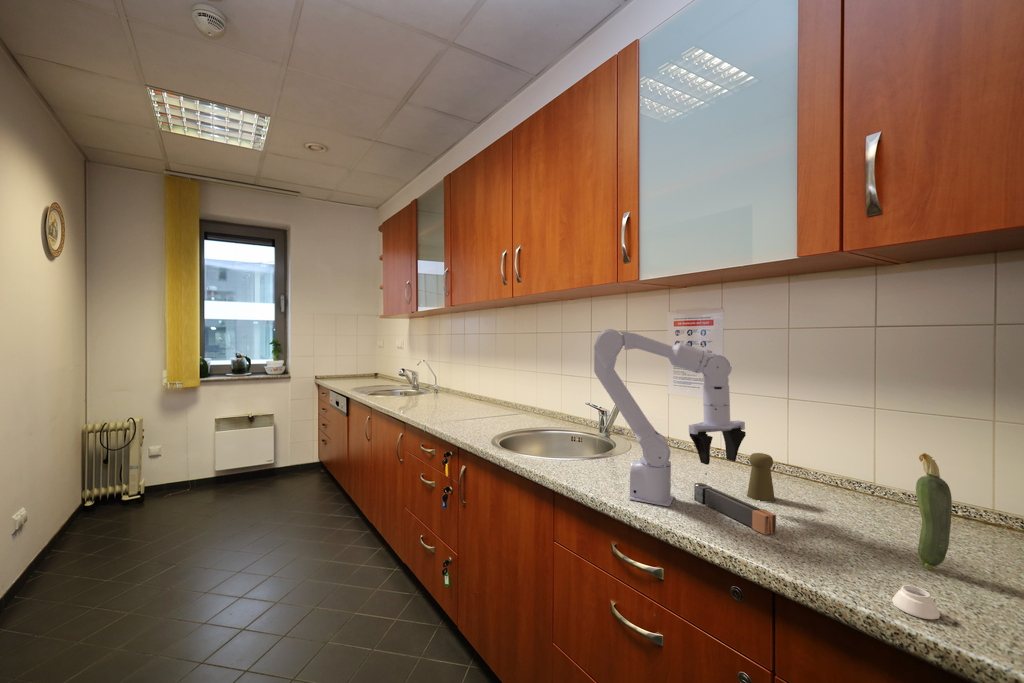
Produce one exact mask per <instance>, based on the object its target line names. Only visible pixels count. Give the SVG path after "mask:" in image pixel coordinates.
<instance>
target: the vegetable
mask: <svg viewBox="0 0 1024 683" xmlns="http://www.w3.org/2000/svg"><path fill="white" fill-rule="evenodd" d="M918 459H919V461H920V462H922V466H923V471H924V473H925V475H923V476H920V477H919V478H918V479H917V481H916V484H915V493H916V500H917V504H918V508H919V512H920V515H921V529H920V535H919V540H918V541H919V542H918V548H917V555H918V560H919V562H920V563H921V564H922V565H923V566H924V567H925V568H926V569H928V570H932V569H934V568H935V567H937V566H940V565H941V564H942V563H943V562H944V561H945V558H946V555H947V554H948V550H949V546H950V536H951V535H950V534H951V526H952V512H953V510H952V509H953V508H952V507H953V505H952V504H953V502H952V500H953V499H952V492H951V489H950V486H949V485H948V483H947V481H945V480H944V479H943V478H941V475H940V469H939V466H938V464H937V462H936V460H935V459H933V456H931V455H930V454H928V453H926V452H924V453H921V454H919V456H918Z"/></svg>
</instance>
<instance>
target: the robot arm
mask: <svg viewBox="0 0 1024 683" xmlns="http://www.w3.org/2000/svg"><path fill="white" fill-rule="evenodd" d="M623 346H624V351H627V350H633V349H634V350H635V349H637V350H641V351H645V352H647V353H651V354H655V355H658V356H661V357H664V358H667V359H668V360H669V362H670V364H671V366H674V367H677V368H680V369H683V370H686V371H690V372H692V373H695V374H700V373H701V374H702V376H703V380H702V381H703V383H702V401H703V402H702V403H703V406H702V407H703V422H697V423H693V424H692V423H691V424H688V433H689V434H688V435H689V437H690V439H691V440H692V442H693V444H694V446H695V448H696V451H697V453H698V457H699V461H700V463H701V464H703V465H707V466H708V465H710V460H711V459H710V457H711V456H710V455H711V445H712V441H713V436H712V435H709V434H708V433H717V432H721V433H722V435H723V440H724V445H725V456H726V457H725V458H726V460H727V461H731V462H736V461H737V456H738V452H739V450H740V446H741V444H742V443H743V440H744V438H745V437H746V431H744V430H746V422H745V421H744V420H731V405H730V404H731V403H730V402H731V401H730V400H731V398H730V384H729V382H730V381H729V376H730V374H731V373H732V369H733V368H732V366H731V363H730V361H729V359H727V357H725V356H723V355H720V354H716V353H712V351H711V350H710V349H705V350H703V349H701V348H697V347H694V346H691V343H689V342H684V343H682V342H679V343H676V344H675V345H669V344H667V343H664V342H660V341H658V340H655V339H652V338H649V337H647V336H644V335H641V334H637V333H634V332H629V331H623V330H622V331H621V330H619V331H618V330H616V329H613V328H606V329H604V330H602V331H601V332H599V334H598V335H597V337H596V339H595V343H594V344H593V354H594V355H593V356H594V357H593V370H594V371H593V372H594V374H595V375H596V377H597V379H598V380H599V381H600V383H601V385H602V386H603V388H604V389H605V391H606V392H607V394H608V395H609V397H610V399H611V400H612V402H613V403H614V405H615V406H616V407H617V409H618V411H619V412H620V414H621V415H622V417H623V418H624V420H625V421H626V423H627V425H628V426H629V428H630V429H631V430H632V432H633V434H634V435H635V438H636V440H637V442H638V443H639V444H638V445H640V447H641V448H642V457H640V460H636V459H635V460H632V462H631V464H630V469H629V496H628V499H629V500H630V501H636V502H641V503H648V504H653V505H657V506H662V507H663V506H664V507H670V506H671V504H672V503H673V500H674V498H675V495H674V494H672V493H671V492H672V491H671V487H672V486H671V483H672V478H671V477H672V463H671V461H670V459H671V454H672V453H671V449H670V447H669V444H668V440H667V438H666V437H665V436H664V435H663V434H661V433H659V432H658V431H657V430H656V429H655V428H654V426H653V425H652V423H651V422H650V420H648V418H647V416H646V415H645V414H644V412H643V410H642V409H641V408H640V406H639V404H638V403H637V401H636V400H635V399H634V397H633V395H632V394H631V392H630V391H629V389H628V388H627V386H626V385H625V383H624V382H623V380H622V379H621V378H620V376H619V374H618V373H617V371H616V370H615V366H616V363H617V362H616V361H617V357H618V355H619V353H620V352H621V350H622V349H623Z"/></svg>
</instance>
